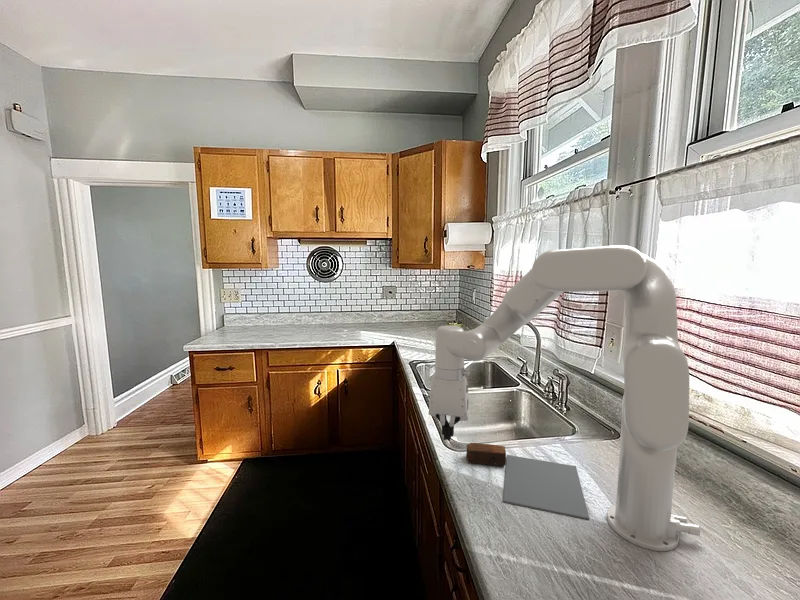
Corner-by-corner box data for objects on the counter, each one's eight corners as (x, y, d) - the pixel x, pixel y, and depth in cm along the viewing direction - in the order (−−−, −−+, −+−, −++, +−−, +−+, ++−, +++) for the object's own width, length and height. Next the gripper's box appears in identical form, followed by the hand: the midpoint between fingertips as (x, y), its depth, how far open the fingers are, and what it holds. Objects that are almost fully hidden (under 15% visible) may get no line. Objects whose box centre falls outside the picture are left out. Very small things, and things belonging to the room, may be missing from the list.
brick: (505, 467, 97) (504, 458, 102) (506, 453, 97) (504, 445, 102) (466, 463, 100) (466, 454, 104) (466, 449, 99) (466, 441, 104)
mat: (575, 467, 98) (575, 466, 98) (589, 519, 78) (589, 518, 78) (507, 456, 104) (507, 454, 104) (503, 502, 84) (503, 500, 84)
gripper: (479, 371, 96) (477, 436, 98) (425, 365, 101) (424, 427, 103) (476, 380, 89) (473, 449, 91) (418, 373, 94) (417, 440, 96)
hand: (447, 437), depth 97 cm, fingers closed
